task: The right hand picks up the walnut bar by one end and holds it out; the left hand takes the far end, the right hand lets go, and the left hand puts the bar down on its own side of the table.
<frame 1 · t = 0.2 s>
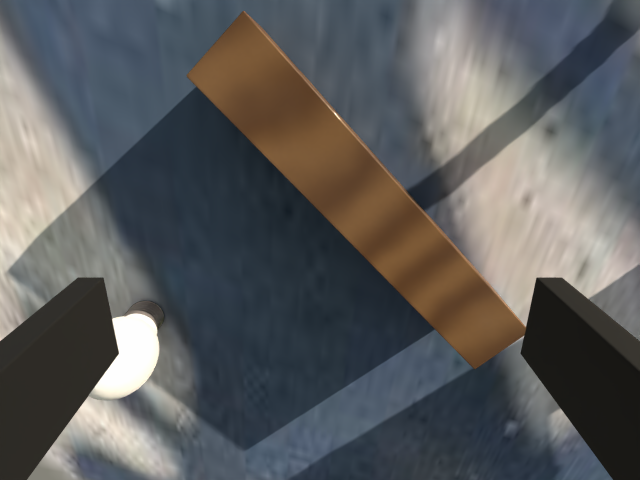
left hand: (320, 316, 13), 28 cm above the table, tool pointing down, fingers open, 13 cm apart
light bulb: (147, 316, 45), on the table
bar: (366, 192, 40), on the table
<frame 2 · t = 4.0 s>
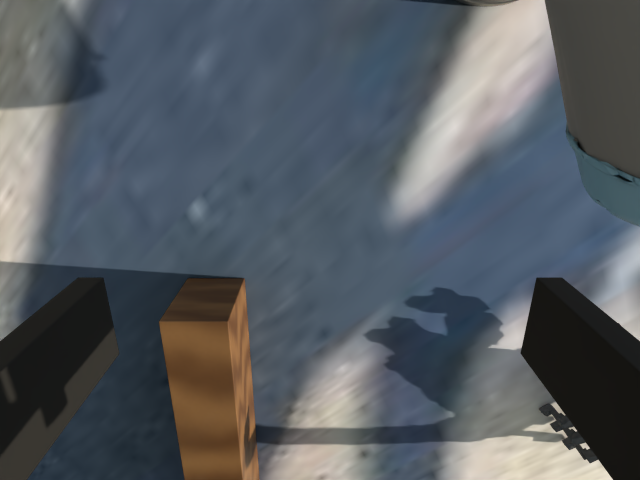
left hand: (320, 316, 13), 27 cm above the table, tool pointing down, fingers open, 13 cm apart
toy: (603, 388, 47), on the table
bar: (229, 408, 48), on the table, touching right hand
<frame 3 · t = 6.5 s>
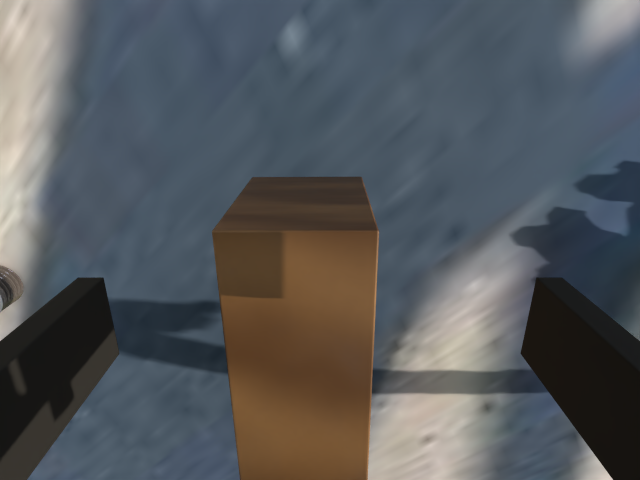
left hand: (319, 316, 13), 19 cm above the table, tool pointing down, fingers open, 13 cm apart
light bulb: (0, 284, 35), on the table
bar: (312, 421, 28), point 9 cm above the table, touching right hand
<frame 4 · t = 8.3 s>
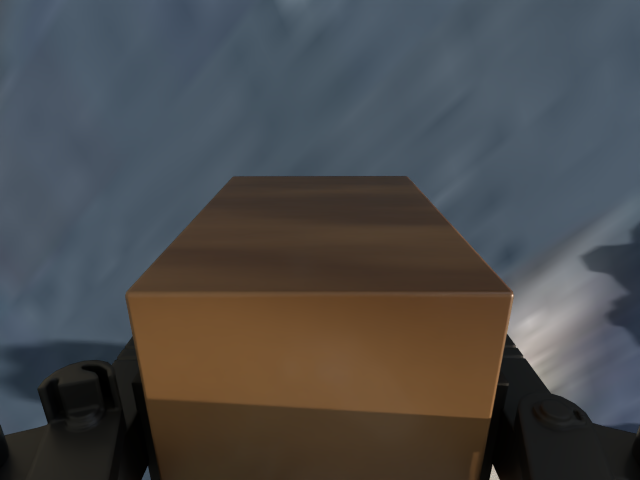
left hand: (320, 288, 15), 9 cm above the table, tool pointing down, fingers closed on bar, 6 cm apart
when the right hand's fingers open (9 cm above the table, at t = 8.9 s): bar stays where it is, held by the left hand.
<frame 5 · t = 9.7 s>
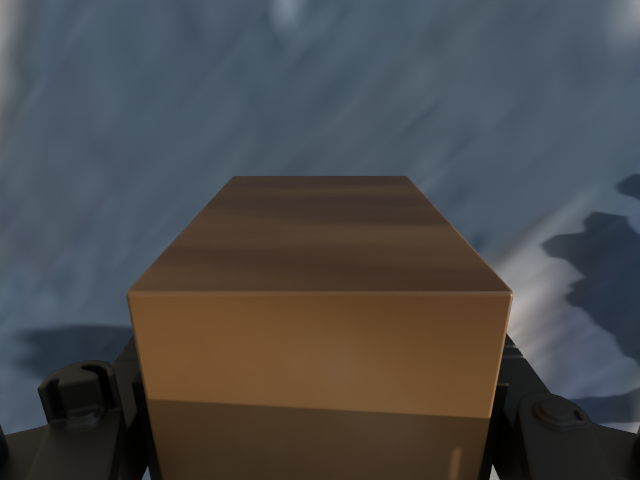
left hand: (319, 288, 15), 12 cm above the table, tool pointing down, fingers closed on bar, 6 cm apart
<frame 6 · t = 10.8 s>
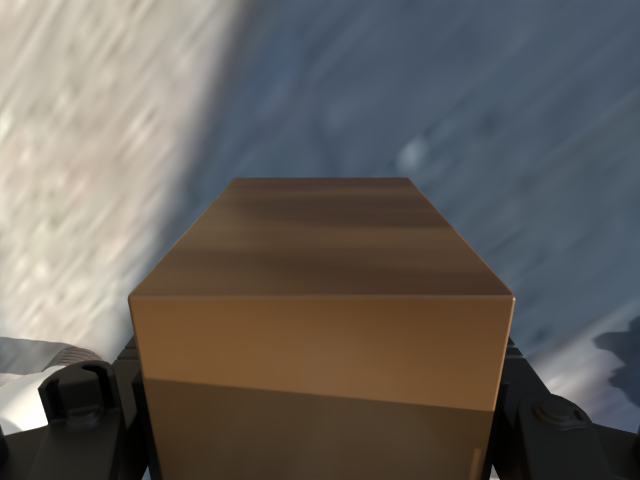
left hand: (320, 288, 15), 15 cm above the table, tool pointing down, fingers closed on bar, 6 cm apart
light bulb: (81, 365, 34), on the table
when the left hand's fingers open (2 cm above the table, at t = 13.6 s): bar drops 2 cm, on the table.
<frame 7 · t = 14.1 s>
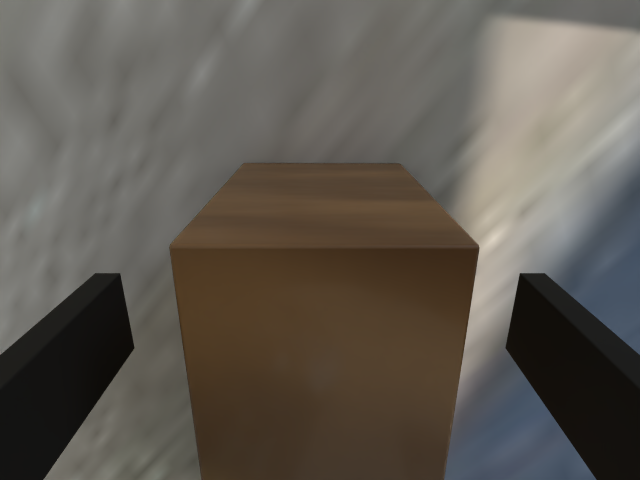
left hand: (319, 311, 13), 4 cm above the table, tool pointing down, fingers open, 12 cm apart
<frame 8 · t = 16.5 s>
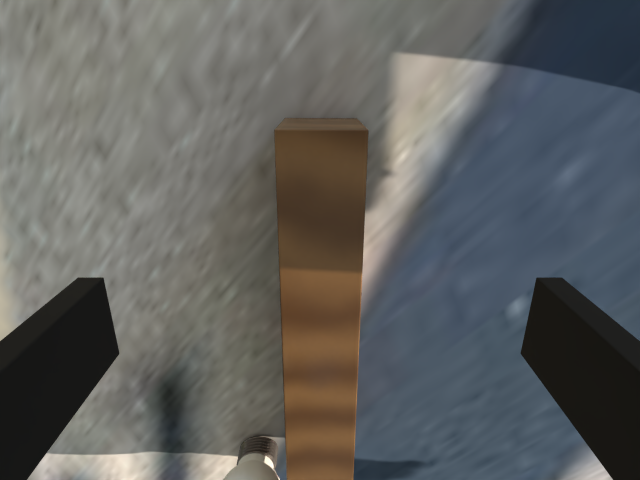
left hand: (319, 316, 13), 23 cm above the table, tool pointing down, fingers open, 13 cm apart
light bulb: (258, 447, 46), on the table
bar: (320, 303, 39), on the table
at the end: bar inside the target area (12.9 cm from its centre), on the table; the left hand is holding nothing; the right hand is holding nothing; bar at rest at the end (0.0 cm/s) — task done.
